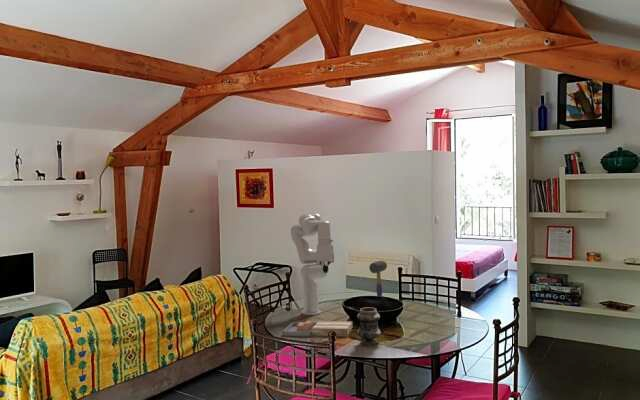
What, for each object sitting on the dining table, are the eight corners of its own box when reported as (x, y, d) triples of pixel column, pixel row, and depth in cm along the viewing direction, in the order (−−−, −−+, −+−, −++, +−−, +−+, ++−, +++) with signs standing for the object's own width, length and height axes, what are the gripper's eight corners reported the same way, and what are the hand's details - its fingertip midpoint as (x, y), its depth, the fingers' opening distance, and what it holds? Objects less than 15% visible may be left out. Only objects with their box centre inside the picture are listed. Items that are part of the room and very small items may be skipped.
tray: (293, 326, 303) (293, 321, 303) (319, 326, 299) (318, 322, 299) (282, 335, 284) (282, 331, 284) (310, 336, 280) (309, 332, 280)
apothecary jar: (378, 347, 255) (376, 312, 255) (355, 346, 259) (353, 311, 259) (383, 340, 267) (381, 306, 266) (361, 339, 271) (359, 305, 270)
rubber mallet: (379, 308, 335) (377, 263, 334) (370, 306, 339) (368, 262, 338) (389, 303, 344) (387, 260, 343) (380, 302, 349) (378, 259, 348)
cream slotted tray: (319, 327, 296) (318, 320, 296) (352, 328, 291) (352, 321, 291) (312, 335, 282) (311, 328, 282) (347, 336, 277) (347, 329, 277)
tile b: (313, 331, 289) (308, 330, 290) (312, 320, 289) (307, 320, 290) (308, 334, 284) (303, 333, 285) (308, 323, 283) (303, 323, 285)
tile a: (309, 322, 296) (310, 327, 296) (299, 322, 297) (300, 327, 297) (306, 325, 290) (307, 330, 290) (296, 325, 292) (297, 330, 292)
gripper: (338, 241, 303) (339, 271, 304) (314, 241, 307) (315, 271, 308) (335, 242, 295) (336, 273, 296) (310, 243, 300) (312, 273, 300)
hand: (325, 272), depth 302 cm, fingers closed
